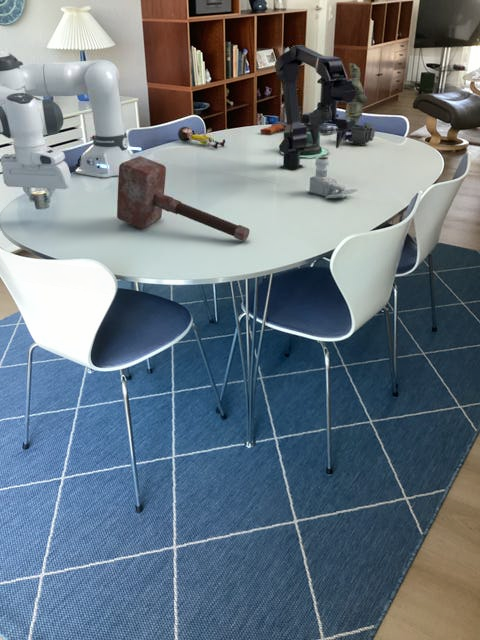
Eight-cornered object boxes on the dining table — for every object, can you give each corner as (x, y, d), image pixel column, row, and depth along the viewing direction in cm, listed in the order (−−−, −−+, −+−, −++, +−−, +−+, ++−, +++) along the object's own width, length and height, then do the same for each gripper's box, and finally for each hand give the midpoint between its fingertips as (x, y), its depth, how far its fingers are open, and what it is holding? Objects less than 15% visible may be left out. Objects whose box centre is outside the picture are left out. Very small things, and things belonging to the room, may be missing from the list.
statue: (367, 132, 266) (374, 63, 251) (349, 133, 264) (355, 64, 249) (357, 127, 275) (362, 61, 260) (339, 129, 273) (344, 62, 258)
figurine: (211, 139, 238) (170, 125, 250) (210, 157, 242) (170, 142, 255) (230, 134, 247) (190, 120, 259) (229, 150, 251) (189, 136, 263)
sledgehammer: (260, 200, 149) (138, 154, 161) (243, 211, 142) (117, 162, 153) (248, 256, 159) (134, 209, 171) (232, 269, 152) (114, 219, 163)
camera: (321, 153, 186) (360, 161, 177) (319, 188, 192) (356, 197, 183) (306, 158, 180) (345, 167, 171) (304, 194, 186) (342, 204, 177)
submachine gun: (254, 130, 262) (277, 120, 281) (254, 136, 263) (277, 126, 282) (316, 136, 248) (336, 125, 267) (316, 142, 250) (336, 131, 268)
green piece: (332, 145, 241) (326, 158, 224) (294, 164, 249) (286, 177, 233) (317, 113, 235) (310, 124, 219) (279, 133, 244) (269, 145, 228)
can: (37, 205, 169) (34, 190, 166) (51, 204, 168) (48, 190, 166) (33, 209, 165) (30, 194, 163) (47, 209, 165) (44, 194, 163)
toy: (345, 120, 249) (377, 123, 242) (343, 139, 253) (375, 143, 246) (337, 123, 243) (369, 127, 236) (336, 143, 247) (367, 147, 240)
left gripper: (-7, 156, 158) (4, 203, 165) (59, 158, 154) (68, 206, 162) (5, 151, 163) (15, 196, 170) (69, 153, 160) (77, 199, 167)
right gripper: (292, 99, 187) (290, 146, 195) (339, 104, 176) (336, 154, 184) (311, 95, 194) (309, 140, 202) (357, 100, 183) (353, 148, 191)
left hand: (41, 201), depth 166 cm, fingers closed on can, 4 cm apart
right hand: (326, 146), depth 194 cm, fingers open, 9 cm apart
